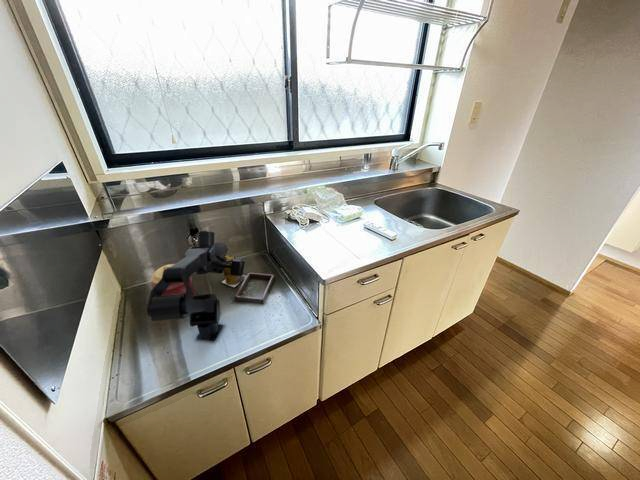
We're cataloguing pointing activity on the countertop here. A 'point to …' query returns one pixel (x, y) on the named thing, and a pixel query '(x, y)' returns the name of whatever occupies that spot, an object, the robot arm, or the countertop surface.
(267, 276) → the tray
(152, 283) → the kitchen canister
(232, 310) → the countertop surface
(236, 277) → the condiment
